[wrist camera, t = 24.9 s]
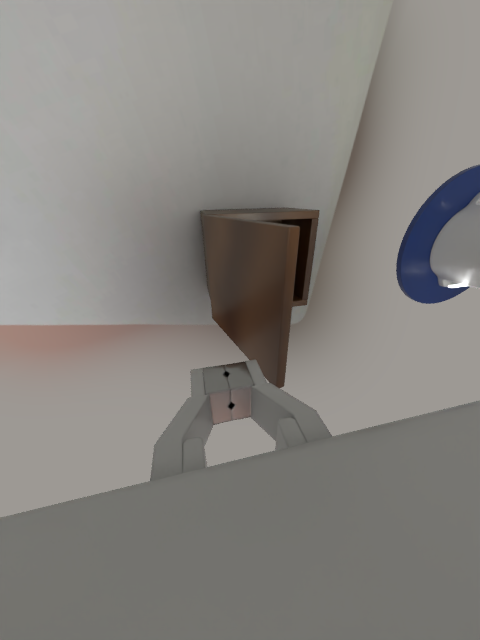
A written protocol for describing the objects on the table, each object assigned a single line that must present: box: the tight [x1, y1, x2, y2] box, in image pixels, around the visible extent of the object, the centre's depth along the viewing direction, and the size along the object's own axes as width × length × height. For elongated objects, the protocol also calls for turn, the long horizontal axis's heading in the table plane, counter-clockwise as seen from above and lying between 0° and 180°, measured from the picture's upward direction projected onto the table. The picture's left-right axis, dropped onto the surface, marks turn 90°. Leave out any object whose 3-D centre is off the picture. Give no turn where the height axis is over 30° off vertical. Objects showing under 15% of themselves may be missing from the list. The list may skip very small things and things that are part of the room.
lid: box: [203, 215, 300, 388], centre depth 20 cm, size 13×12×1 cm
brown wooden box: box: [200, 208, 319, 307], centre depth 31 cm, size 13×12×10 cm
